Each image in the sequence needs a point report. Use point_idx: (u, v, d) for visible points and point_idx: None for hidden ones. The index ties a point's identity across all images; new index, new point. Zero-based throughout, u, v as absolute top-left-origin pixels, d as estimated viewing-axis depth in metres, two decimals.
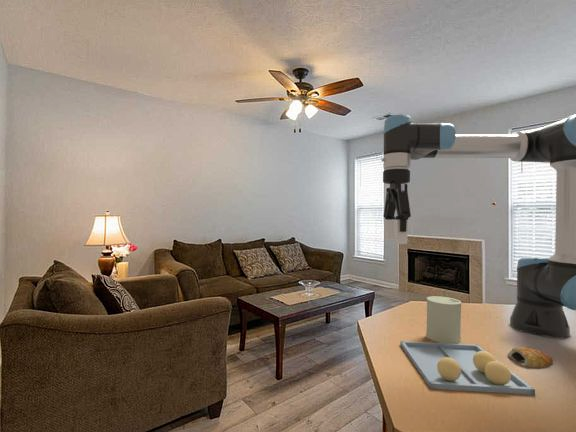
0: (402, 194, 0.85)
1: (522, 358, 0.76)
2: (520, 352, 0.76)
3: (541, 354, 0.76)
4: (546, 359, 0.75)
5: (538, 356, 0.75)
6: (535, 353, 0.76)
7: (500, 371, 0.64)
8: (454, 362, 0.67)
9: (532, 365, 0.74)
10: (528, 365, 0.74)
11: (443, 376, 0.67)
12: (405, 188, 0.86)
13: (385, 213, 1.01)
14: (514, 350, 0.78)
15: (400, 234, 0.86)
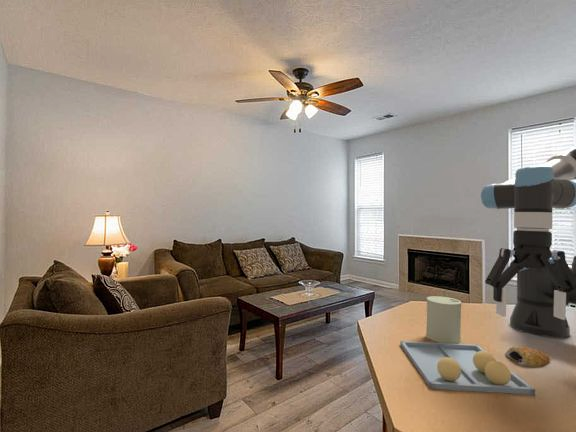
0: (499, 260, 0.78)
1: (519, 357, 0.77)
2: (518, 351, 0.77)
3: (538, 353, 0.77)
4: (543, 358, 0.76)
5: (535, 355, 0.76)
6: (533, 352, 0.77)
7: (500, 371, 0.64)
8: (454, 362, 0.67)
9: (530, 364, 0.75)
10: (526, 364, 0.75)
11: (443, 376, 0.67)
12: (503, 254, 0.78)
13: (564, 282, 0.78)
14: (512, 349, 0.78)
15: (498, 303, 0.79)
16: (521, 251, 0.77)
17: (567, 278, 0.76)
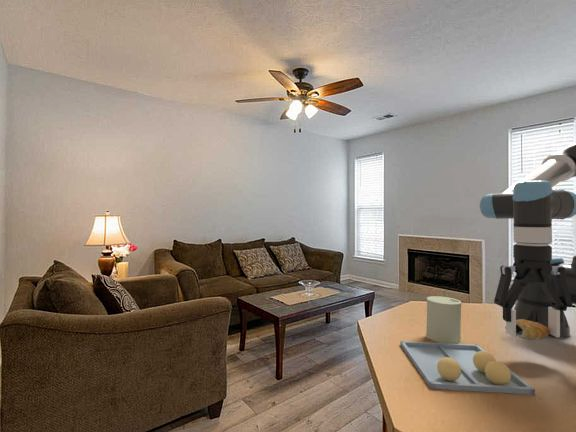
0: (502, 279, 0.79)
1: (519, 329, 0.77)
2: (518, 324, 0.78)
3: (538, 325, 0.78)
4: (543, 330, 0.77)
5: (535, 327, 0.77)
6: (533, 324, 0.77)
7: (500, 371, 0.64)
8: (454, 362, 0.67)
9: (530, 335, 0.75)
10: (526, 336, 0.76)
11: (443, 376, 0.67)
12: (505, 272, 0.78)
13: None
14: None
15: (508, 323, 0.79)
16: (521, 266, 0.77)
17: (562, 294, 0.77)
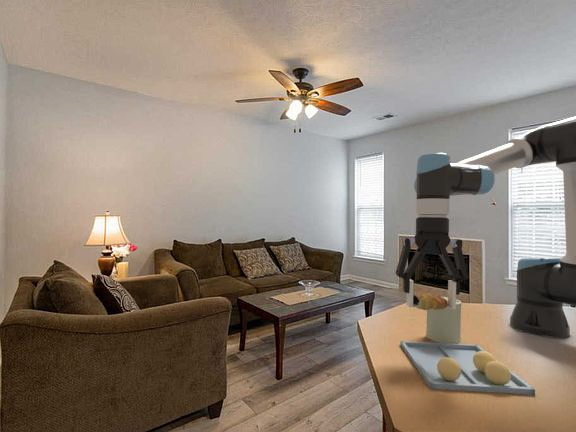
0: (403, 250, 0.79)
1: (417, 300, 0.78)
2: (416, 295, 0.78)
3: (436, 297, 0.78)
4: (439, 301, 0.77)
5: (432, 298, 0.77)
6: (430, 295, 0.78)
7: (500, 371, 0.64)
8: (454, 362, 0.67)
9: (425, 306, 0.76)
10: (421, 306, 0.76)
11: (443, 376, 0.67)
12: (404, 244, 0.78)
13: (458, 272, 0.79)
14: None
15: (407, 295, 0.79)
16: (420, 237, 0.78)
17: (460, 267, 0.77)
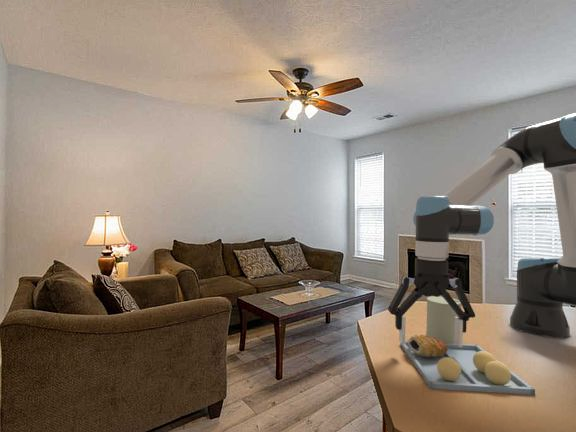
0: (400, 288, 0.79)
1: (417, 346, 0.78)
2: (416, 340, 0.78)
3: (436, 342, 0.78)
4: (439, 347, 0.77)
5: (432, 344, 0.77)
6: (430, 341, 0.78)
7: (500, 371, 0.64)
8: (454, 362, 0.67)
9: (425, 353, 0.76)
10: (421, 353, 0.76)
11: (443, 376, 0.67)
12: (403, 282, 0.78)
13: (464, 309, 0.79)
14: (412, 338, 0.80)
15: (400, 331, 0.80)
16: (419, 280, 0.78)
17: (464, 306, 0.77)
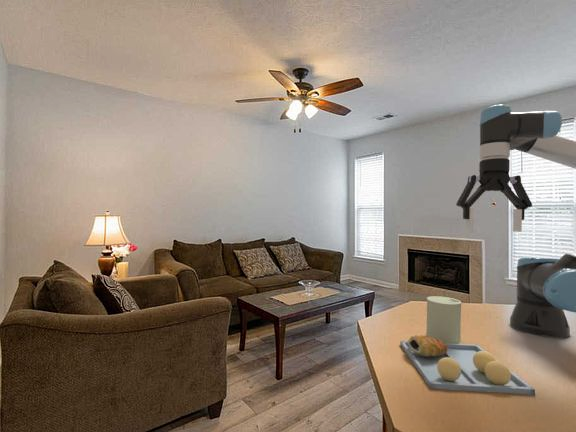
0: (467, 185, 0.95)
1: (417, 345, 0.78)
2: (416, 340, 0.78)
3: (436, 342, 0.78)
4: (439, 347, 0.77)
5: (432, 344, 0.77)
6: (430, 341, 0.78)
7: (500, 371, 0.64)
8: (454, 362, 0.67)
9: (425, 352, 0.76)
10: (421, 352, 0.76)
11: (443, 376, 0.67)
12: (470, 179, 0.94)
13: (521, 203, 0.94)
14: (412, 338, 0.80)
15: (467, 221, 0.95)
16: (485, 176, 0.93)
17: (523, 198, 0.92)
